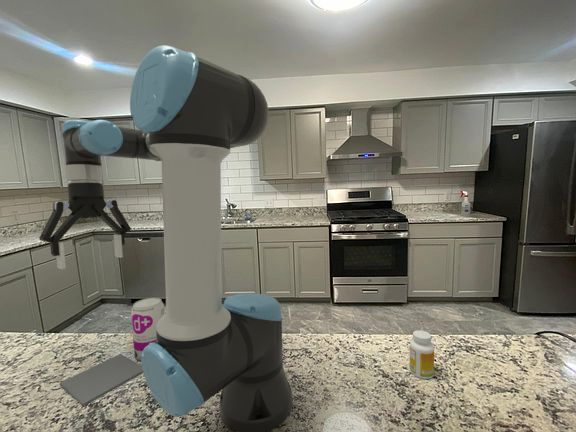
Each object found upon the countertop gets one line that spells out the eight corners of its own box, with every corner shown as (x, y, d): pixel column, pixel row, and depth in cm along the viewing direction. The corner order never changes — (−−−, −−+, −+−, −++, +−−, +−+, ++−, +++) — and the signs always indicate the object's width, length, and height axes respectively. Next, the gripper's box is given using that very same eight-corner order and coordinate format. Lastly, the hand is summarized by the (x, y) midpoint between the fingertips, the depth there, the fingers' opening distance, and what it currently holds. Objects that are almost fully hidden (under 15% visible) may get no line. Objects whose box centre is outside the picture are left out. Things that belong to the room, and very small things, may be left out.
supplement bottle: (436, 371, 67) (437, 333, 67) (430, 383, 63) (430, 342, 63) (413, 362, 71) (414, 326, 70) (406, 373, 67) (406, 334, 66)
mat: (146, 370, 71) (146, 368, 71) (82, 406, 59) (82, 404, 59) (121, 355, 78) (120, 353, 78) (59, 384, 66) (59, 382, 66)
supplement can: (154, 363, 74) (150, 309, 72) (127, 360, 75) (123, 307, 74) (172, 347, 82) (169, 297, 80) (148, 344, 83) (144, 296, 82)
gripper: (126, 184, 85) (131, 252, 86) (16, 182, 64) (25, 272, 65) (140, 182, 81) (145, 254, 82) (27, 180, 60) (37, 276, 61)
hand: (92, 262), depth 74 cm, fingers open, 13 cm apart
